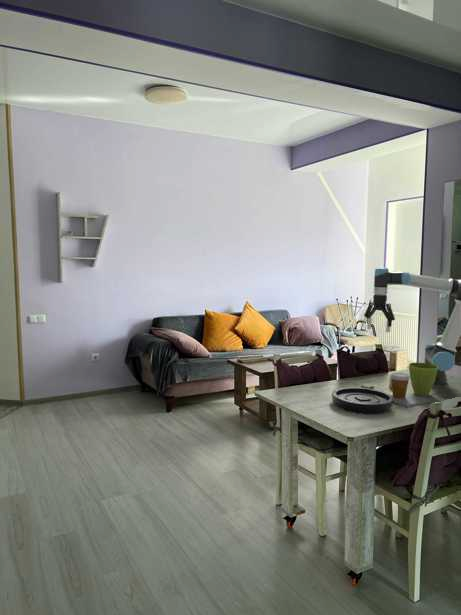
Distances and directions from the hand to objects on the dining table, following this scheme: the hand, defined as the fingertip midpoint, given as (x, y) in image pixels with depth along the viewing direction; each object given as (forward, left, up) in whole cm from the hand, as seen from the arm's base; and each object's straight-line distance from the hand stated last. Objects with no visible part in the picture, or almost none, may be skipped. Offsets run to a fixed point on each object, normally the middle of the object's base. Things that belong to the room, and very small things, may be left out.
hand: (378, 330), depth 279 cm
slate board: (+15, +31, -32) cm, 47 cm away
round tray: (+41, +25, -32) cm, 58 cm away
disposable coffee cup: (+14, +27, -31) cm, 44 cm away
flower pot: (-4, +28, -32) cm, 43 cm away
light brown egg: (-1, +12, -32) cm, 34 cm away
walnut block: (+23, +13, -32) cm, 41 cm away
